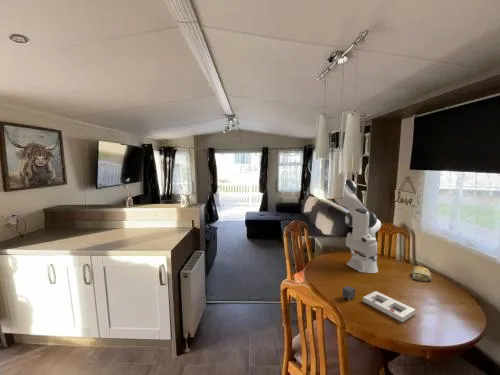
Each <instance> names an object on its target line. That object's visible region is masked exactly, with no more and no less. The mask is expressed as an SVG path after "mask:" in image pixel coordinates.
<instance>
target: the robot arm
mask: <svg viewBox="0 0 500 375" xmlns="http://www.w3.org/2000/svg"><path fill="white" fill-rule="evenodd" d="M345 181H346V184H345V188H344V196H343V197H342V199H336V198H335V199H330V198H329V200H330V201H331V202H332V203H334V204H338V205H339V206H341V207H346V208H347V210H348V212H347V213H346V214H345V215H344V224H345V225H346V226H348V227H349V228H350V227H351V228H352V232H347V234H346V238H345V246H346V247H347V248H349V250H350V252H351V257H350V260H349V261H347V263H346V266H349V267H350V268H352V269H354V270H356V271H358V272H359V273H367V274H376V273H378V272H379V268H378V263H377V259H378V251H377V250H378V242H377V237H376V232H378V231H380V229H381V227H382V222H381V221H380V220H379V219H378V217H377V216H376V214H375V213H374V212H373V211H371V210H369V208H368V206H366V205H365V203H363V202H362V201H361V199H359V198H358V196H357V195H355V194H357V190H358V189H357V188H358V187H357V184H356V183H355V181H353V180H352V179H346V180H345ZM355 251H356V252H357V253H356V252H355Z"/></svg>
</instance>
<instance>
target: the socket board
mask: <svg viewBox="0 0 500 375" xmlns="http://www.w3.org/2000/svg"><path fill="white" fill-rule="evenodd" d="M362 303H364V304H366V305H368V306H370V307H372V308H374V309H375V310H378V311H379V312H380V313H382V314H385V315H386V316H389V317H390V318H392V319H394V320H396V321H398V322H400V323H402V324H403V323H405V322H406V321H408V320H409V319H411V318H412V317H414V316H415V315H416V309H415V308H413V307H411V306H409V305H406V304H404V303H402V302H400V301H398V300H396V299H394V298H391V297H390V296H387V295H385V294H383V293H382V292H379V291H377V290H375V291H372V292H371V293H368V294H367V295H365V296H362Z"/></svg>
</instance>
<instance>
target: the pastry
mask: <svg viewBox="0 0 500 375" xmlns="http://www.w3.org/2000/svg"><path fill="white" fill-rule="evenodd" d="M411 276H412V277H411V278H412V279H411V280H416V281H419V282H424V283H425V282H426V283H427V282H430V281H431V280H432V273H431V272H430V270H429V269H428V268H426V267H423V266H421V265H416V266H414V267H413V268H412V269H411Z"/></svg>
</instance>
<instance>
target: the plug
mask: <svg viewBox="0 0 500 375" xmlns="http://www.w3.org/2000/svg"><path fill="white" fill-rule="evenodd" d="M355 297H356V288H354V287H352V286H350V285H347V286H345V287H343V288H342V298H344V299H345V298H346V299H347V300H348V301H349V302H350V301H351V300H352V299H353V298H355Z"/></svg>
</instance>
